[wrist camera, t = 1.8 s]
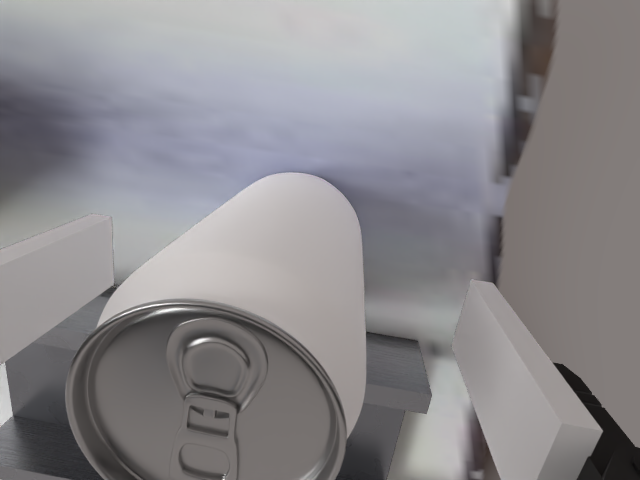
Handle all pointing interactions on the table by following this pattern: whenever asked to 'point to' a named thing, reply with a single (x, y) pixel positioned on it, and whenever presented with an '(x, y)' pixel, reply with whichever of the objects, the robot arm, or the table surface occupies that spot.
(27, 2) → the table surface
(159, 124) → the table surface
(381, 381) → the track
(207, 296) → the can
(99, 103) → the table surface
